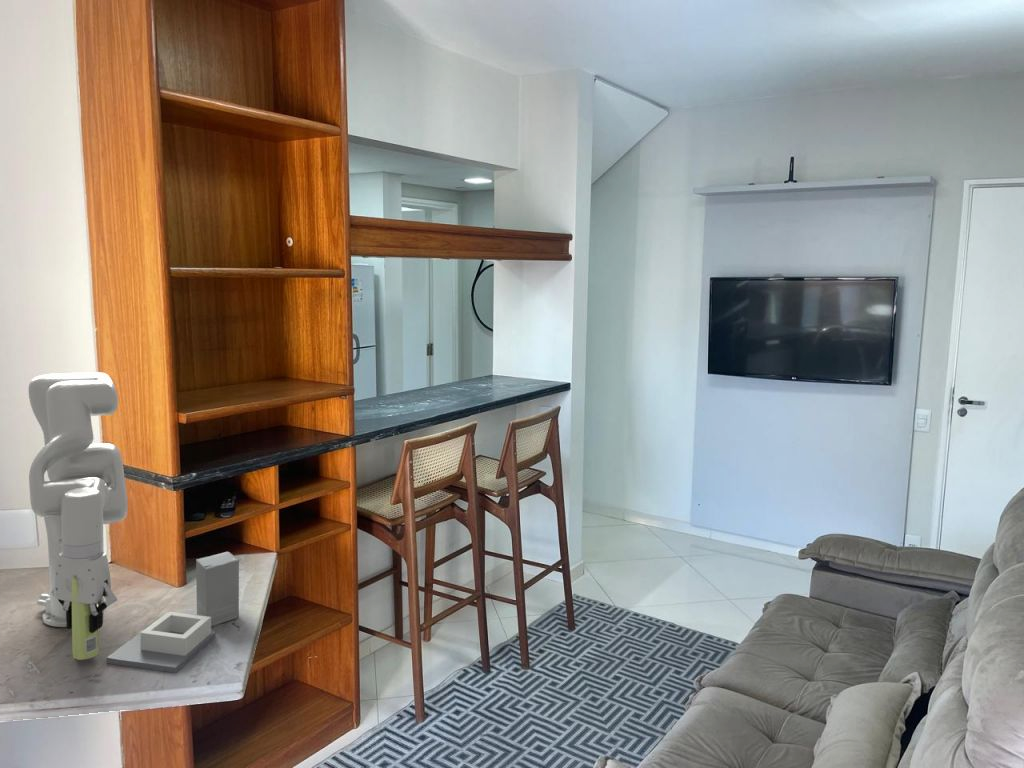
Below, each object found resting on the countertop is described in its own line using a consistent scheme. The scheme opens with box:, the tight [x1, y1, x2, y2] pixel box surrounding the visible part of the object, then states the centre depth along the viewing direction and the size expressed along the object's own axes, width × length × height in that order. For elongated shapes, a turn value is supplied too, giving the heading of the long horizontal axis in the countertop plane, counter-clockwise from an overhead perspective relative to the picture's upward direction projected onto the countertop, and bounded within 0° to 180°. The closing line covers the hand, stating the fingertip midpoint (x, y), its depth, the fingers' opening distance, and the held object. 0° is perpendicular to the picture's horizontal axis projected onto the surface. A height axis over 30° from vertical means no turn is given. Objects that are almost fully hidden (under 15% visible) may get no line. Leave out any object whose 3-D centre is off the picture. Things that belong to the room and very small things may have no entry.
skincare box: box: [195, 551, 240, 627], centre depth 180 cm, size 8×7×16 cm
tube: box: [71, 575, 100, 661], centre depth 158 cm, size 6×5×20 cm
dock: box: [105, 611, 217, 674], centre depth 165 cm, size 16×16×5 cm
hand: (84, 627), depth 158 cm, fingers closed on tube, 4 cm apart
